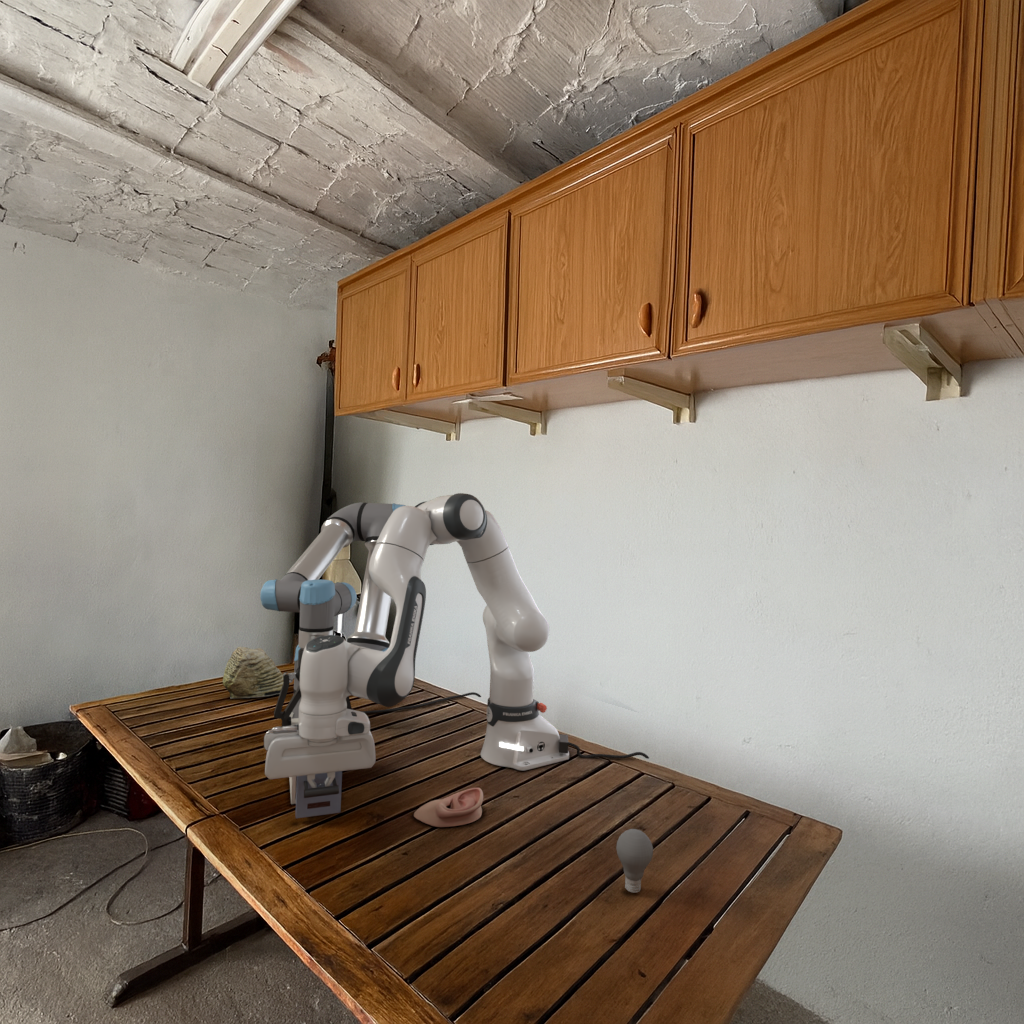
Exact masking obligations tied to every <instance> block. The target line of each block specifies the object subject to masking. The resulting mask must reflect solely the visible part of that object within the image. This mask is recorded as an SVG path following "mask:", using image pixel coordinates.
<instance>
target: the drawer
mask: <svg viewBox="0 0 1024 1024" xmlns="http://www.w3.org/2000/svg"><path fill="white" fill-rule="evenodd" d="M326 779H327V773H321V774H315V779H314V781H315V783H316V784H317V783H325V781H326ZM296 780H297V789H296V804H295V819H303V818H309V817H317V816H324V815H333V814H339V813H342V811H341V810H342V809H341V808H342V785H343V784H342V782H343V771H339V772H335V778H334V780H333V781H332V783H331V784H330V786H327V787H319V788H312V787H311V785H310V784H309V782H308V781H307V775H304V776H296Z"/></svg>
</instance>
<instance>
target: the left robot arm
mask: <svg viewBox="0 0 1024 1024" xmlns="http://www.w3.org/2000/svg"><path fill="white" fill-rule="evenodd" d="M401 506H407V505H406V504H400V503H399V504H398V503H385V502H383V503H382V502H362V501H360V502H354V503H351V504H347V505H346V506H344V507H342V508H340V509H339V510H337V511H335V512H334V513H333V514H331V515H330V516H329V517H327V519H326V520H325V521H324V522H323V524H322V525H321V528H320V533H319V534H318V535H317V536H316V537H315V538H314V540H313V541H312V542H311V543H310V544H309V545H308V547H307V548H306V549H305V550H304V552H302V554H301V555H300V556H299V558H298V559H297V560H296V561H295V562H294V563H293V565H292V566H290V568H289V569H288V570H287V572H286V573H285V574H284V575H283V576H282V578H281V579H277V578H276V579H269V580H267V581H265V582H264V583H263V585H262V587H261V590H260V594H259V595H260V602H261V605H262V607H263V608H264V609H265V610H270V611H276V612H285V613H287V612H288V613H299V626H298V644H297V645H296V647H295V652H294V653H295V654H294V659H293V661H294V672H288V671H285V672H283V673H282V675H283V685H282V688H281V691H280V694H278V698H277V701H276V704H275V708H274V711H273V717H274V719H280V720H281V727H285V726H290V725H291V719H294V718H299V705H300V702H301V691H300V667H301V659H302V655H303V651H304V648H305V646H306V644H307V643H308V642H309V641H311V640H312V639H314V638H317V637H320V636H327V635H334V623H335V622H334V621H335V620H334V619H335V617H336V616H339V615H342V614H343V615H344V614H346V613H348V611H350V610H351V609H352V608H354V606H355V605H356V603H357V597H358V596H357V595H358V594H357V591H356V589H355V588H354V586H353V585H351V584H350V583H349V582H343V581H341V582H334V581H332V580H331V579H320V578H322V576H323V575H324V573H325V572H326V571H327V569H328V568H329V567H330V565H331V564H332V563H333V562H334V560H335V559H336V558H337V556H338V555H339V554H340V552H342V550H343V548H347V547H348V546H349V545H351V543H353V542H364V546H365V548H366V549H367V550H368V554H367V559H366V566H365V569H364V576H363V581H362V586H361V587H362V589H361V593H360V598H359V604H358V609H357V615H356V621H355V625H354V626H355V627H354V632H352V633H351V634H350V635H349V636H348V637H347V639H346V641H347V642H348V643H350V644H353V645H357V646H361V647H366V648H370V649H373V650H378V651H384V652H385V651H386V650H387V649H388V648H389V646H390V641H389V639H387V637H386V632H387V628H388V620H389V614H390V609H391V602H392V598H391V597H390V596H389V595H387V594H386V593H384V592H383V591H382V590H380V589H379V588H378V587H377V586H376V585H375V584H374V582H373V581H372V579H371V576H370V573H369V562H370V558H371V555H372V552H373V550H374V547H375V545H376V542H377V540H378V538H379V536H380V533H381V531H382V529H383V527H384V526H385V524H386V522H387V520H388V519H389V517H390V516H391V514H392V513H393V511H394V510H395V509H397V508H399V507H401ZM291 683H293V695H292V697H291V699H290V700H289V702H288V704H287V705H286V707H285V709H284V710H283V706H284V704H285V700H286V697H287V694H288V691H289V688H290V684H291ZM472 695H473V696H476V697H478V698H482V695H481V694H479V693H478V692H474V691H473V692H467V693H464V694H463V693H462V694H457V695H451V696H447V697H443V698H439V699H434V700H432V701H428V702H424V703H419V704H414V705H409V706H402V707H394V708H386V709H377V710H359V711H360V712H364V713H365V714H366V715H368V714H382V713H389V712H397V711H404V710H410V709H417V708H421V707H425V706H430V705H433V704H436V703H441V702H444V701H449V700H453V699H458V698H464V697H468V696H472ZM346 702H347V709H351V710H353V707H352V704H351V700H350V696H348V697H347V698H346Z"/></svg>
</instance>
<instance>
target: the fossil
mask: <svg viewBox="0 0 1024 1024" xmlns="http://www.w3.org/2000/svg"><path fill="white" fill-rule="evenodd" d="M222 676H223V677H222V685H223V687H224V688H225V690H226V691H228V693H229V698H230V699H250V698H264V697H271V696H275V695H280V691H281V688H282V685H283V673H282V672H281V669H279V668H278V667H277V665H276V663H275V662H274V660H273V659H272V658H271V657H270V656H269V655H268V654H267V653H266V652H265V650H264V649H263V648H260V647H258V648H251V647H247V646H246V647H245V646H238V647H237V648H236V649H235V650H233V651H232V653H231V656H230V657H229V659H228V660H227V663H226V666H225V668H224V671H223V675H222Z"/></svg>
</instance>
